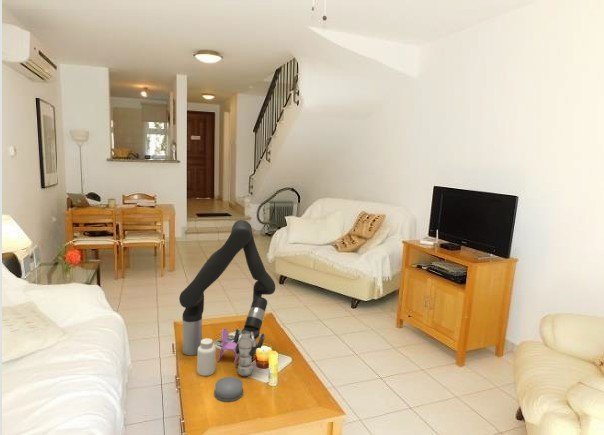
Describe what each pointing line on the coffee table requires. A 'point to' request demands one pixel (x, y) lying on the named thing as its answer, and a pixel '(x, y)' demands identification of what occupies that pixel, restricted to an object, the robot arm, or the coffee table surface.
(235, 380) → the slate plinth
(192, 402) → the coffee table surface
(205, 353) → the pill bottle
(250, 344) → the plastic bottle
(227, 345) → the toy chair
